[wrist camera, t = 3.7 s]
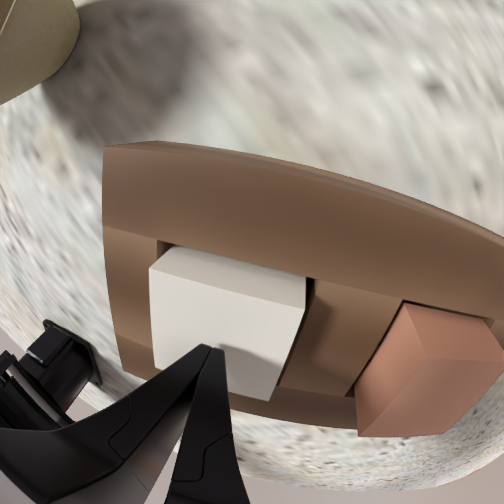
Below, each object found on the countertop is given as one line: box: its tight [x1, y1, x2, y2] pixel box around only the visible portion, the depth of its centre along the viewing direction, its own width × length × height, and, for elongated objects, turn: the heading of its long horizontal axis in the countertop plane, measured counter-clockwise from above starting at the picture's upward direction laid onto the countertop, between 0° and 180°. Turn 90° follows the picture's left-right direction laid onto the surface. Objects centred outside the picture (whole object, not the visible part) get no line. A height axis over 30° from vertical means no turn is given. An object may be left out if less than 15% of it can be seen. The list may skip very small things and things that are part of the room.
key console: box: [102, 141, 504, 429], centre depth 12 cm, size 12×20×4 cm, turn 80°
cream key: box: [149, 244, 306, 401], centre depth 10 cm, size 5×5×3 cm
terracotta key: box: [354, 303, 504, 437], centre depth 8 cm, size 5×5×3 cm
